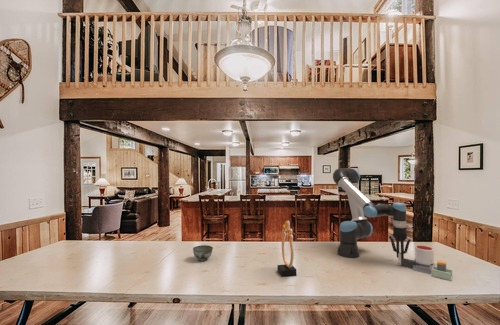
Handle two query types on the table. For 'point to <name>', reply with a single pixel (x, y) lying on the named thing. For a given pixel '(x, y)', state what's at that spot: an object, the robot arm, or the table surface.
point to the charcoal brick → (408, 263)
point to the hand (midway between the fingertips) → (400, 263)
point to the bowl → (202, 252)
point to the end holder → (442, 273)
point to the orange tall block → (441, 266)
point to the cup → (424, 255)
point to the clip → (423, 268)
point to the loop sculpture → (287, 268)
